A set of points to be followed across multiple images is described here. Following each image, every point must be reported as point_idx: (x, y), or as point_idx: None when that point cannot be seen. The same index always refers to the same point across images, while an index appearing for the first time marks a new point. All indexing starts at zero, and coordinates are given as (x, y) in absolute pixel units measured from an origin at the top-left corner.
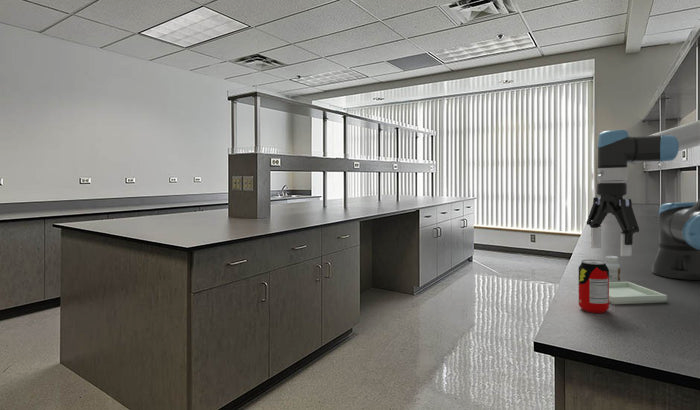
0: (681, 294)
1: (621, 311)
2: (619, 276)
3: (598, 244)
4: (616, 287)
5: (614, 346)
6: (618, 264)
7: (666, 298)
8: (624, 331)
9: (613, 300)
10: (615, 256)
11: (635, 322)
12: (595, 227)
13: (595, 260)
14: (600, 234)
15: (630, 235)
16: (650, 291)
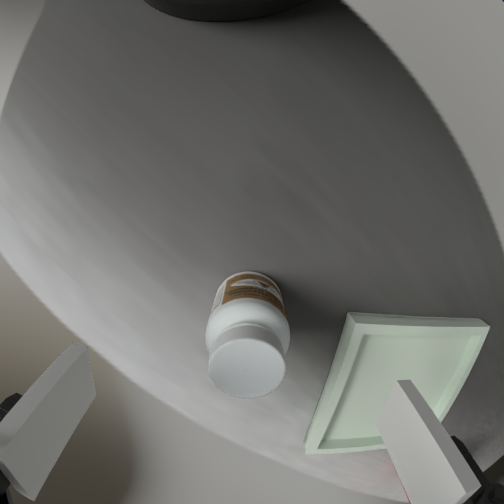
0: (462, 208)
1: (449, 430)
2: (282, 301)
3: (77, 377)
4: (352, 366)
5: (479, 465)
6: (277, 328)
7: (484, 323)
8: (476, 450)
9: None
10: (241, 342)
11: (477, 430)
12: (3, 475)
13: None
14: (33, 418)
15: (477, 490)
16: (453, 334)
